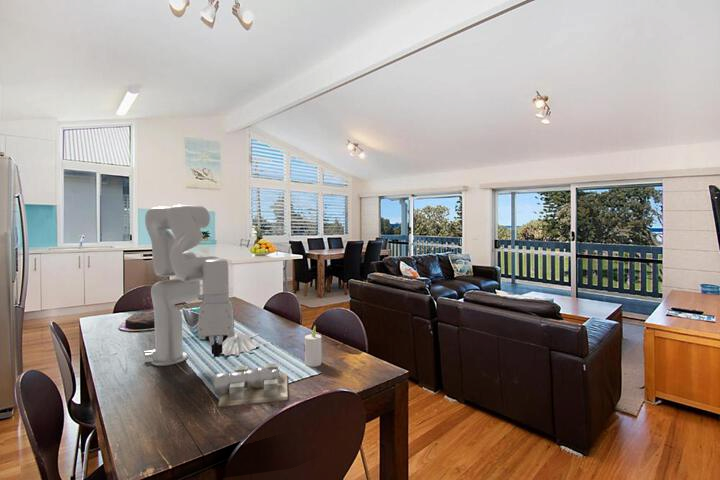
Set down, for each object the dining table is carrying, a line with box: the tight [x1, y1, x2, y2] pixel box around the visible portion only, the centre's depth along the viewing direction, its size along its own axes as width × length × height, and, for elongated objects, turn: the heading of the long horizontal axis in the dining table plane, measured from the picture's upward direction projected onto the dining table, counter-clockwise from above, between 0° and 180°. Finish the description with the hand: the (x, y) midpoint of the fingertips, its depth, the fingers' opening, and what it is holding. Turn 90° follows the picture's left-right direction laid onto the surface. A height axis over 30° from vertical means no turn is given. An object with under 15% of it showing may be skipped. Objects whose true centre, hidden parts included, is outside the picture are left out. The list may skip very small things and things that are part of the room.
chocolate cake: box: [118, 310, 155, 333], centre depth 192 cm, size 28×28×7 cm
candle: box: [303, 324, 322, 368], centre depth 139 cm, size 6×6×15 cm
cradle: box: [217, 363, 289, 408], centre depth 118 cm, size 20×18×5 cm
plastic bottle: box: [212, 366, 280, 396], centre depth 116 cm, size 6×7×20 cm
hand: (217, 355), depth 115 cm, fingers closed
